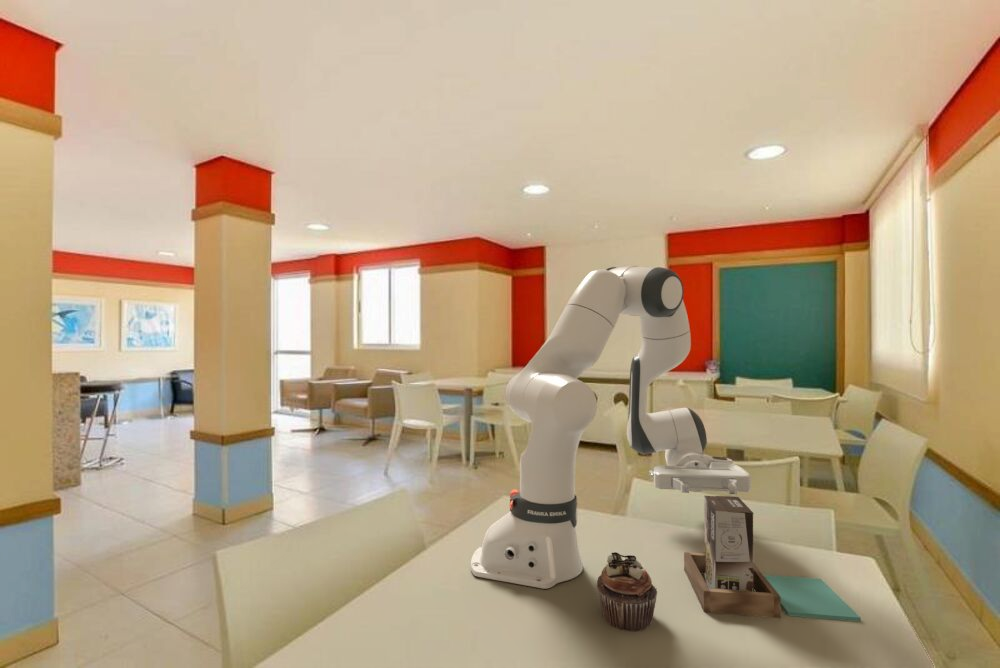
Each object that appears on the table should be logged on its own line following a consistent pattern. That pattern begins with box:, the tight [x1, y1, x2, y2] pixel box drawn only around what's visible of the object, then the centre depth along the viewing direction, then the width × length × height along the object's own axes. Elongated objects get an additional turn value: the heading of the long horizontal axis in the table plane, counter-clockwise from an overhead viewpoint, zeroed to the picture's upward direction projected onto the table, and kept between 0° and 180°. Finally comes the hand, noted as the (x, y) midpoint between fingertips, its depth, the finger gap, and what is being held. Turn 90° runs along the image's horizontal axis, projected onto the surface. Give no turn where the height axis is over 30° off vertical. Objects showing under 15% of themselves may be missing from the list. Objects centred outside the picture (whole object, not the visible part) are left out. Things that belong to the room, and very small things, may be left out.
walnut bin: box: [683, 551, 782, 619], centre depth 88 cm, size 12×15×4 cm
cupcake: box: [596, 551, 658, 632], centre depth 80 cm, size 10×10×10 cm
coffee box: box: [703, 495, 754, 592], centre depth 88 cm, size 9×6×16 cm
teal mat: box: [763, 574, 862, 622], centre depth 86 cm, size 11×13×1 cm
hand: (709, 489), depth 101 cm, fingers open, 8 cm apart
